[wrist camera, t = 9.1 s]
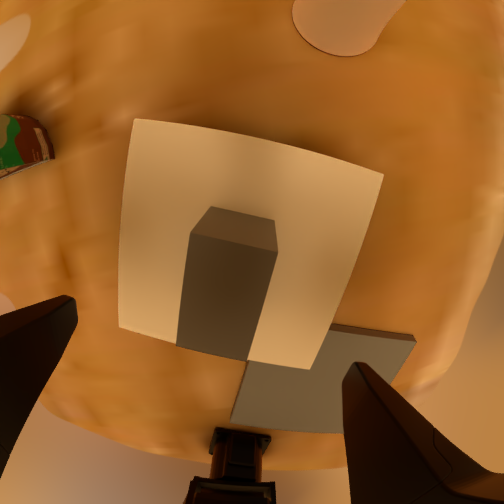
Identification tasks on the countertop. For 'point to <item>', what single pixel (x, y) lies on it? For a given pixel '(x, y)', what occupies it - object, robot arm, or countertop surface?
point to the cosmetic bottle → (343, 23)
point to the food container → (22, 144)
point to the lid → (237, 241)
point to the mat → (316, 381)
